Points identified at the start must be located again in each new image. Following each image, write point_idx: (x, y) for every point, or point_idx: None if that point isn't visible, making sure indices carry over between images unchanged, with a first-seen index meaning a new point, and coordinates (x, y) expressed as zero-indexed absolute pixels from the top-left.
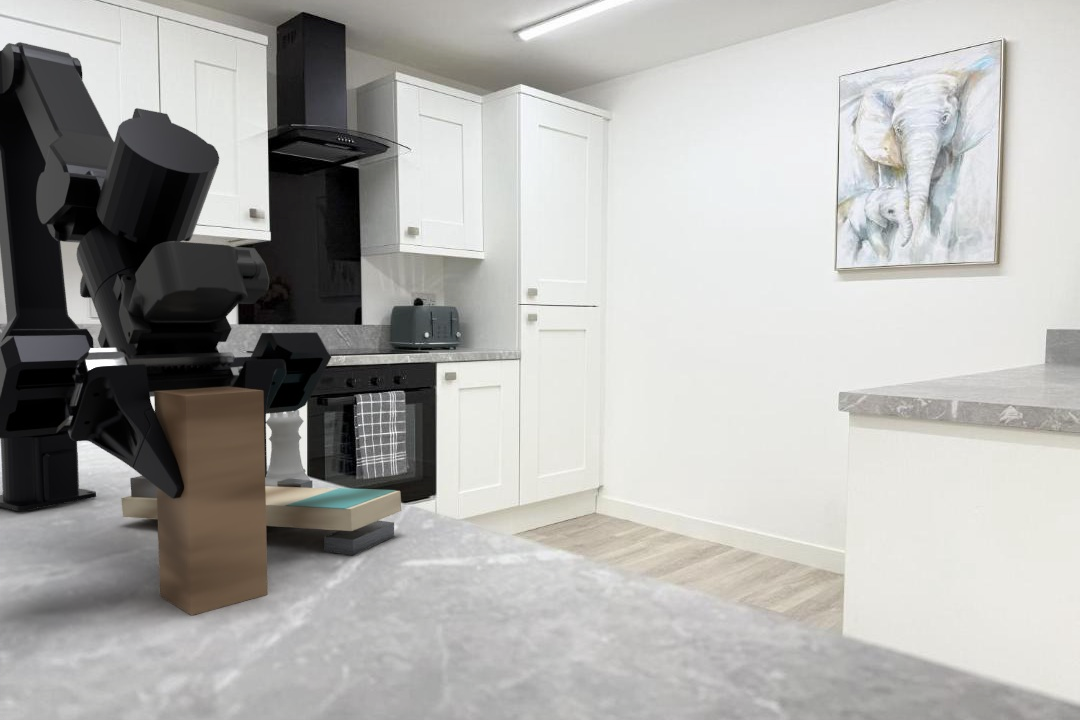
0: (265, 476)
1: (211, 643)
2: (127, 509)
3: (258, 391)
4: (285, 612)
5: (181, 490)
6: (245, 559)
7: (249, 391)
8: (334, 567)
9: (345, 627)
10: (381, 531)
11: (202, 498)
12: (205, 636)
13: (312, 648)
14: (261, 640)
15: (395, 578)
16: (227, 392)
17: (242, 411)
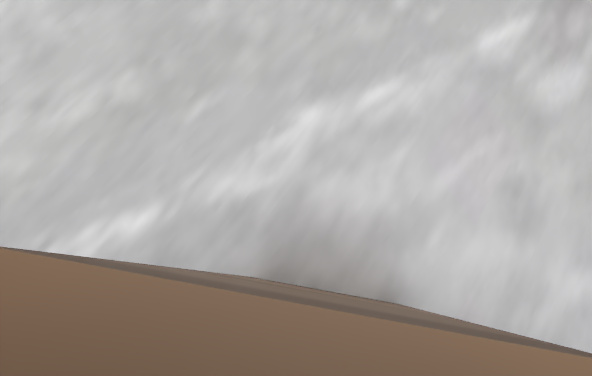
0: None
1: (447, 161)
2: None
3: (19, 256)
4: (291, 171)
5: None
6: (285, 284)
7: (92, 269)
8: None
9: (282, 37)
10: None
11: (402, 308)
12: (437, 195)
13: (366, 17)
14: (392, 105)
15: (58, 138)
16: (248, 353)
17: (200, 279)
